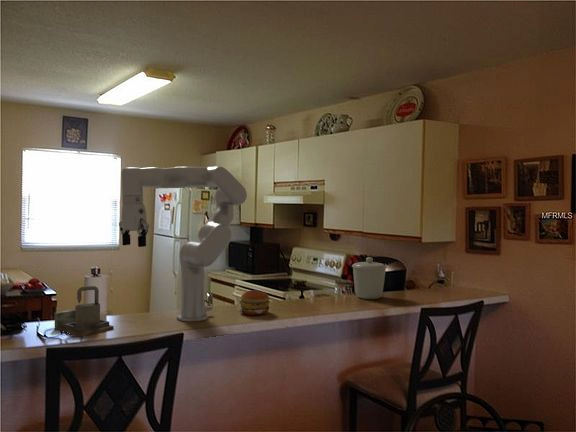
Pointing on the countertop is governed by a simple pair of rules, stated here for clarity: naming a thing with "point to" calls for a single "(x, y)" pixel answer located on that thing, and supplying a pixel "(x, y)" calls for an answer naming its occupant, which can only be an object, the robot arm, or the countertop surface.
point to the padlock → (87, 309)
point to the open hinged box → (67, 324)
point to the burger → (254, 303)
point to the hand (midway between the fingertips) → (134, 245)
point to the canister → (369, 279)
